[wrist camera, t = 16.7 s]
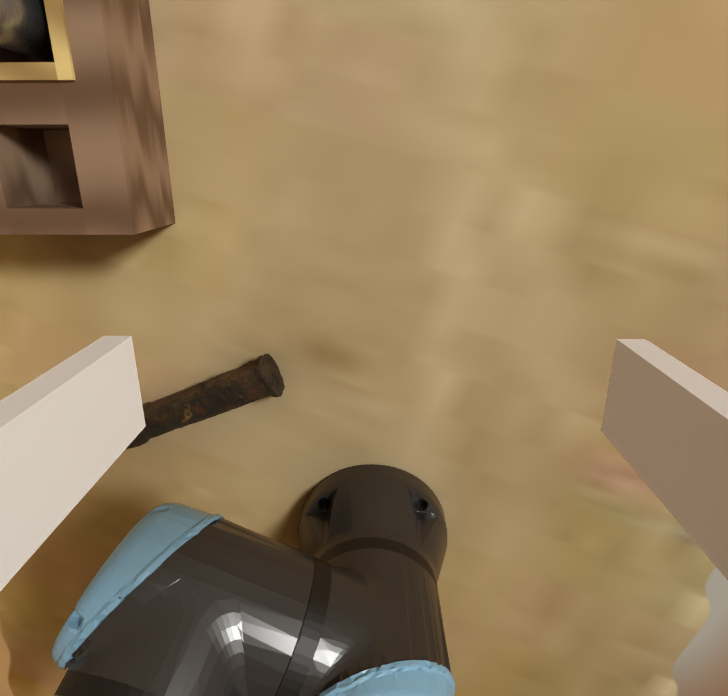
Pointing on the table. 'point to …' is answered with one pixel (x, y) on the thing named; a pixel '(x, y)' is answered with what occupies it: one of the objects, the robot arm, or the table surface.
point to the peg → (25, 28)
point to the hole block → (85, 127)
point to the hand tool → (211, 398)
